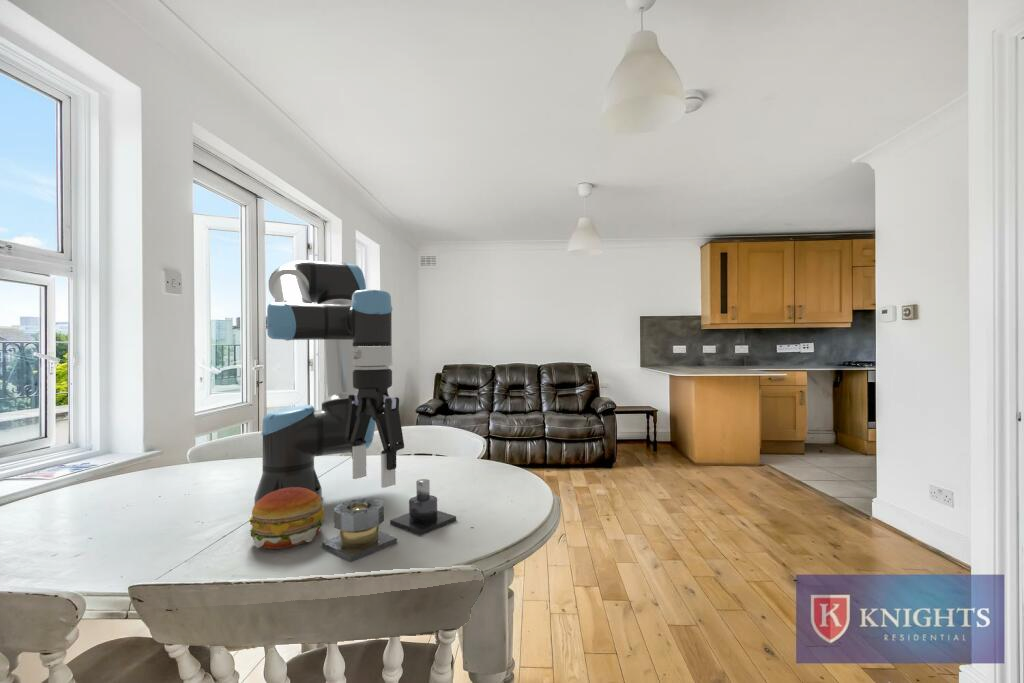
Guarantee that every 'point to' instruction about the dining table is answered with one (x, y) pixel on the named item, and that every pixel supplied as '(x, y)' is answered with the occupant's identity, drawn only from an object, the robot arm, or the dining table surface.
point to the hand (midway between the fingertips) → (373, 481)
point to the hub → (358, 542)
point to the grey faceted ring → (358, 514)
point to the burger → (286, 518)
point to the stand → (423, 512)
